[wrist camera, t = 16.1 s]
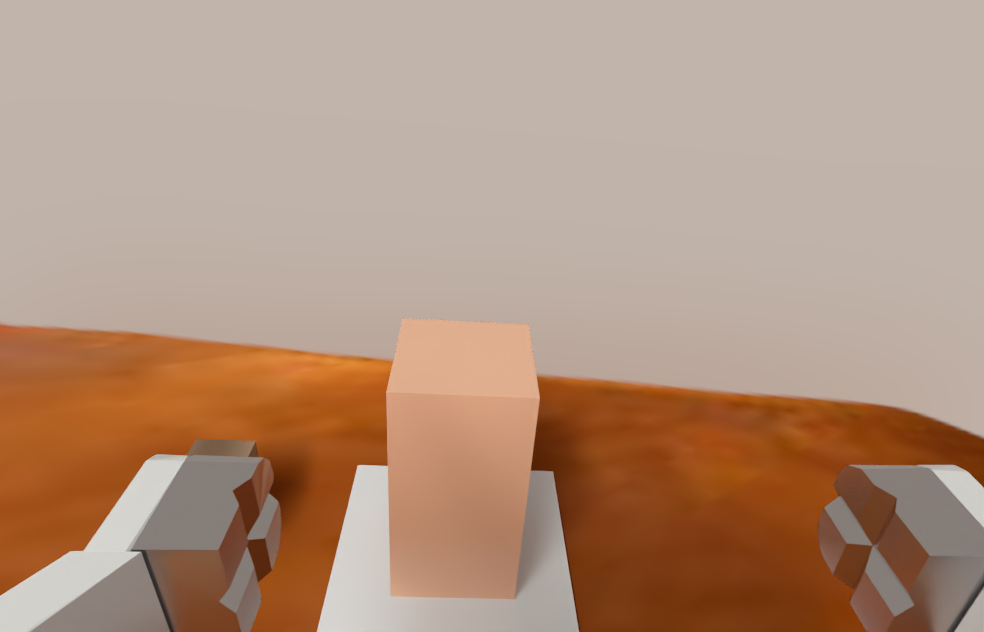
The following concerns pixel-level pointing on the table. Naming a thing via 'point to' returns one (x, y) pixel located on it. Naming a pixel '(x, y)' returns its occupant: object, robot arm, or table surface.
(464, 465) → the peach rectangular block
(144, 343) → the table surface
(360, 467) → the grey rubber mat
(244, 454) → the walnut peg
